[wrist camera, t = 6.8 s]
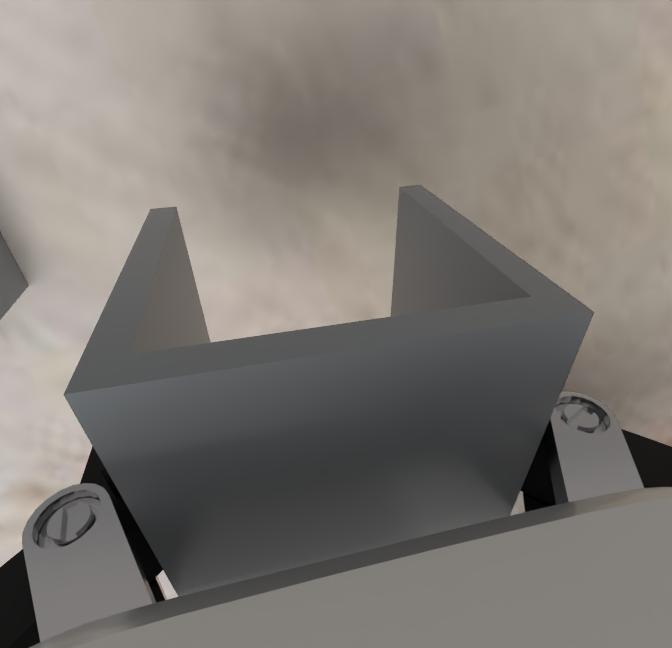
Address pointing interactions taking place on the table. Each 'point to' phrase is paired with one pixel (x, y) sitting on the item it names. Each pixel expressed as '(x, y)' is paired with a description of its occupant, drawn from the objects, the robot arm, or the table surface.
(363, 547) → the right cover
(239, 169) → the table surface
